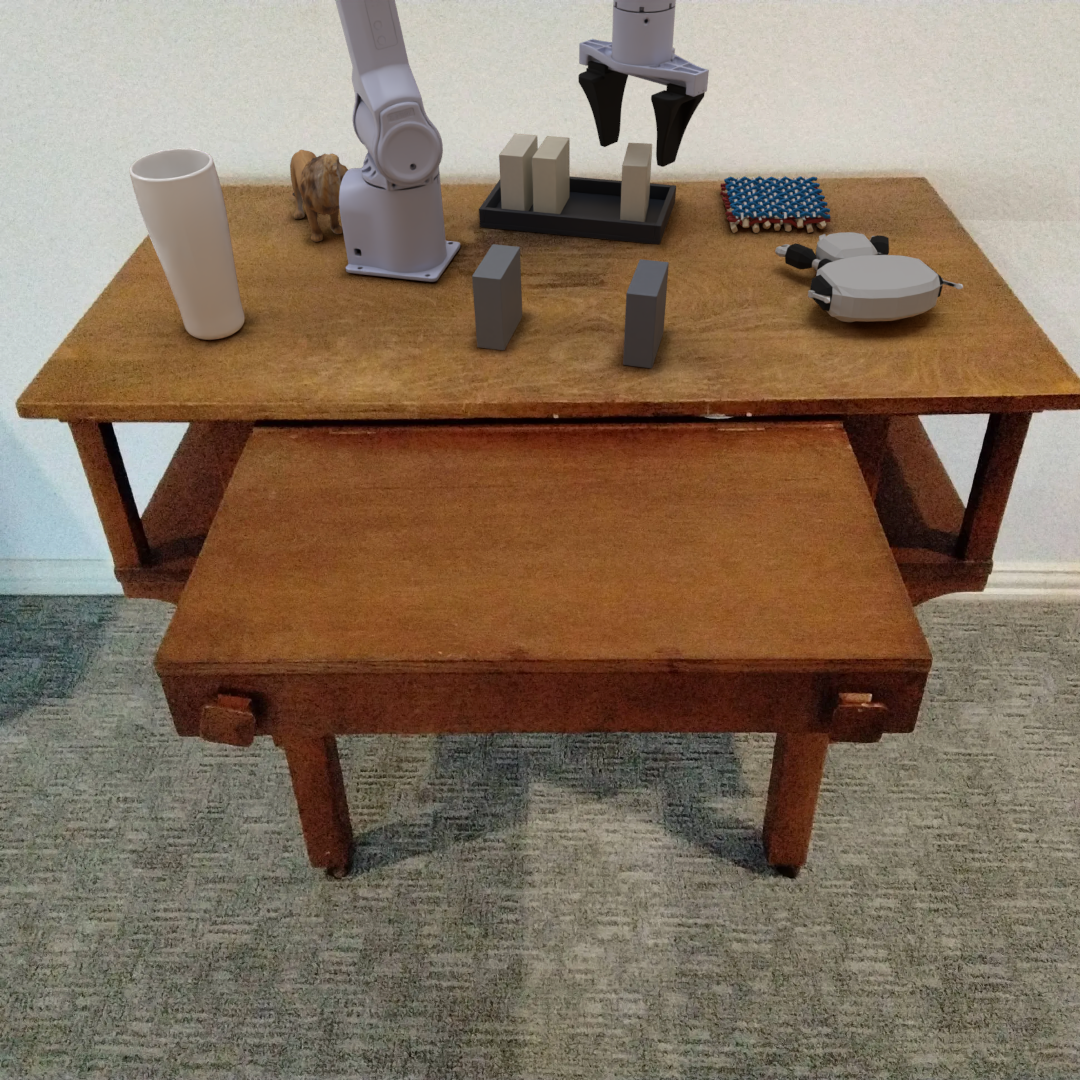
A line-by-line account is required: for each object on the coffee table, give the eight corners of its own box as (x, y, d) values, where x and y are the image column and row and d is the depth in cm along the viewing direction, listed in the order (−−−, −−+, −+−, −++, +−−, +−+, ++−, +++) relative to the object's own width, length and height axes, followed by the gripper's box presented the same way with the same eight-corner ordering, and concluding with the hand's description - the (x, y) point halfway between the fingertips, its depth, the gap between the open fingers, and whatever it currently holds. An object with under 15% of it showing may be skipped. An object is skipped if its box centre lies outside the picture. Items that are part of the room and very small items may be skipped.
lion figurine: (373, 242, 100) (360, 155, 94) (325, 256, 98) (309, 168, 92) (315, 194, 110) (300, 112, 103) (271, 206, 107) (253, 122, 101)
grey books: (477, 347, 85) (471, 276, 80) (496, 313, 89) (492, 243, 85) (652, 368, 82) (657, 296, 77) (663, 332, 86) (668, 261, 82)
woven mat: (717, 191, 108) (719, 173, 107) (813, 191, 107) (817, 173, 106) (726, 233, 100) (728, 214, 99) (830, 233, 100) (834, 214, 98)
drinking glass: (218, 354, 85) (170, 186, 75) (162, 335, 88) (108, 170, 77) (269, 319, 89) (231, 155, 79) (214, 302, 92) (170, 141, 82)
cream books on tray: (501, 215, 103) (498, 154, 99) (517, 192, 108) (514, 133, 103) (556, 220, 102) (555, 159, 98) (569, 197, 106) (569, 137, 102)
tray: (479, 227, 103) (478, 208, 101) (506, 188, 110) (505, 170, 108) (659, 244, 99) (661, 225, 97) (675, 203, 106) (676, 185, 105)
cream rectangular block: (619, 227, 101) (622, 164, 96) (625, 203, 105) (628, 142, 101) (643, 228, 100) (647, 166, 96) (648, 204, 105) (652, 143, 100)
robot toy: (763, 275, 95) (823, 344, 84) (769, 230, 92) (831, 295, 81) (882, 263, 97) (957, 330, 85) (891, 218, 94) (969, 281, 82)
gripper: (734, 9, 87) (718, 160, 96) (614, -18, 95) (610, 125, 104) (685, 26, 84) (673, 181, 93) (564, -3, 91) (564, 143, 101)
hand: (637, 153), depth 98 cm, fingers open, 7 cm apart
